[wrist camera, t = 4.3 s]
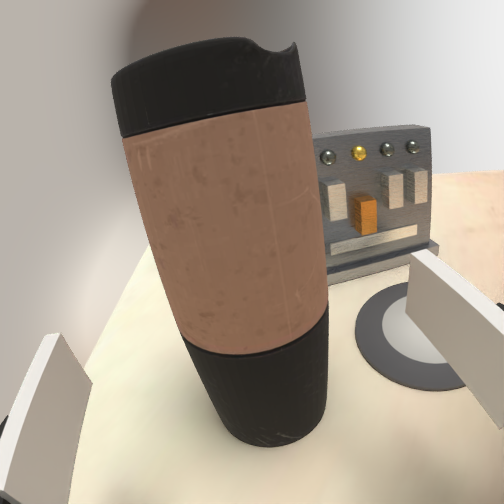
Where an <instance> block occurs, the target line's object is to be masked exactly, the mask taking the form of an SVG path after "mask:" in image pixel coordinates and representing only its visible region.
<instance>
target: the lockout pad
mask: <svg viewBox="0 0 504 504" xmlns="http://www.w3.org/2000/svg"><path fill="white" fill-rule="evenodd" d="M407 291H408V282H405V283H400V284H396V285H393V286H390V287H388V288H386V289H383V290H381V291H380V292H378V293H376V294H375V295H373V296H372V297H371V298H370V299H369V300H368V301H367V302H366V303H365V304H364V305H363V307H362V308H361V309H360V312H359V314H358V316H357V320H356V327H355V334H356V341H357V344H358V347H359V349H360V351H361V353H362V355H363V356H364V358H365V359H366V360H367V362H368V363H369V364H370V365H371V366H372V367H373V368H374V369H375V370H377V371H378V372H379V373H381V374H382V375H383V376H385V377H387V378H388V379H390V380H392V381H394V382H396V383H399V384H401V385H404V386H407V387H410V388H414V389H420V390H427V391H446V390H452V389H457V388H461V387H464V386H466V385H465V383H464V382H463V381H462V380H461V378H460V377H459V376H458V375H457V373H456V372H455V371H454V370H453V368H452V367H451V366H450V365H449V363H448V362H447V361H446V360H445V359H444V357H443V356H442V355H441V354H440V353H439V351H438V350H437V349H436V348H435V347H434V345H433V344H432V343H431V342H430V341H429V339H428V338H427V337H426V336H425V335H424V334H423V332H422V331H421V330H420V329H419V328H418V327H417V326H416V324H415V323H414V322H413V321H412V320H411V319H410V318H409V316H408V315H407V314H406V313H405V308H406V300H407Z"/></svg>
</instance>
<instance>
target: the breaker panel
mask: <svg viewBox="0 0 504 504" xmlns="http://www.w3.org/2000/svg"><path fill="white" fill-rule="evenodd" d="M312 140H313V147H314V154H315V161H316V169H317V177H318V186H319V194H320V203H321V213H322V222H323V233H324V244H325V256H326V268H327V282H328V286H329V285H333V284H336V283H340V282H344V281H348V280H352V279H355V278H359V277H363V276H366V275H370V274H374V273H377V272H381V271H385V270H388V269H392V268H395V267H399V266H402V265H406V264H409V263H410V255H411V253H413V252H417V251H420V250H424V249H427V250H429V251H430V252H431V253H433V254H434V255H435V256H436V255H438V252H439V245H438V244H437V243H435V242H434V241H432V240H431V239H430V223H431V198H432V157H431V132H430V128H429V127H424V126H419V125H399V126H385V127H373V128H362V129H353V130H343V131H334V132H327V133H319V134H312Z"/></svg>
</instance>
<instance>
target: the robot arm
mask: <svg viewBox="0 0 504 504" xmlns="http://www.w3.org/2000/svg"><path fill="white" fill-rule="evenodd" d="M405 313H406V314H407V315H408V316H409V318H410V319H411V320H412V321H413V322H414V323H415V324H416V326H417V327H418V328H419V329H420V330H421V331H422V332H423V334H424V335H425V336H426V337H427V338H428V339H429V341H430V342H431V343H432V344H433V345H434V347H435V348H436V349H437V350H438V351H439V353H440V354H441V355H442V356H443V357H444V359H445V360H446V361H447V362H448V363H449V365H450V366H451V367H452V368H453V370H454V371H455V372H456V373H457V375H458V376H459V377H460V378H461V380H462V381H463V382H464V383H465V385H466V386H467V387H468V388H469V390H470V391H471V392H472V394H473V395H474V396H475V397H476V399H477V400H478V401H479V403H480V404H481V405H482V407H483V408H484V409H485V411H486V412H487V413H488V415H489V416H490V417H491V419H492V420H493V421H494V423H495V424H496V425H497V427H498V428H499V430H500V429H501V428H503V427H504V305H503V304H501V303H497V304H495V303H494V302H493V301H491V300H490V299H489V298H488V297H487V296H485V295H484V294H483V293H482V292H481V291H480V290H478V289H477V288H476V287H475V286H473V285H472V284H471V283H470V282H469V281H467V280H466V279H465V278H464V277H462V276H461V275H460V274H459V273H457V272H456V271H455V270H453V269H452V268H451V267H450V266H448V265H447V264H446V263H444V262H443V261H442V260H441V259H439V258H438V257H437V256H435V255H434V254H433V253H431V252H430V251H429V250H427V249H424V250H420V251H417V252H413V253H411V255H410V269H409V280H408V291H407V300H406V308H405ZM92 384H93V383H92V382H91V380H90V379H89V377H88V376H87V374H86V373H85V371H84V370H83V368H82V367H81V365H80V364H79V362H78V360H77V359H76V357H75V356H74V354H73V352H72V351H71V349H70V347H69V346H68V344H67V342H66V341H65V339H64V337H63V335H62V334H61V333H54V334H48V335H45V337H44V339H43V341H42V343H41V345H40V347H39V349H38V351H37V353H36V355H35V357H34V359H33V361H32V363H31V365H30V368H29V370H28V372H27V374H26V376H25V379H24V381H23V383H22V385H21V388H20V390H19V392H18V395H17V397H16V399H15V402H14V404H13V407H12V409H11V412H10V414H9V416H8V415H7V417H6V418H5V419H4V421H3V422H2V423H1V425H0V504H68V501H69V494H70V488H71V481H72V475H73V469H74V464H75V458H76V453H77V448H78V443H79V438H80V433H81V429H82V424H83V420H84V416H85V411H86V407H87V403H88V399H89V395H90V391H91V387H92Z"/></svg>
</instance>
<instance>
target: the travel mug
mask: <svg viewBox="0 0 504 504" xmlns="http://www.w3.org/2000/svg"><path fill="white" fill-rule="evenodd" d="M111 87H112V94H113V99H114V104H115V109H116V114H117V119H118V124H119V128H120V133H121V136H122V137H123V139H122V142H123V146H124V150H125V154H126V159H127V163H128V167H129V171H130V175H131V179H132V183H133V187H134V190H135V194H136V198H137V201H138V205H139V209H140V212H141V216H142V219H143V223H144V226H145V230H146V233H147V236H148V240H149V243H150V246H151V250H152V253H153V256H154V259H155V262H156V265H157V269H158V272H159V275H160V278H161V281H162V284H163V287H164V290H165V293H166V295H167V298H168V301H169V304H170V307H171V310H172V312H173V315H174V318H175V321H176V324H177V326H178V329H179V331H180V334H181V336H182V338H183V341H184V343H185V345H186V347H187V350H188V352H189V354H190V356H191V359H192V361H193V363H194V365H195V367H196V369H197V372H198V374H199V376H200V378H201V380H202V382H203V384H204V386H205V388H206V390H207V393H208V395H209V397H210V399H211V401H212V403H213V405H214V407H215V409H216V411H217V413H218V414H219V416H220V418H221V420H222V422H223V423H224V425H225V426H226V428H227V429H228V430H229V431H230V432H231V434H233V435H234V436H235V437H237V438H238V439H240V440H242V441H243V442H246V443H248V444H251V445H255V446H262V447H275V446H281V445H286V444H289V443H292V442H295V441H297V440H299V439H301V438H302V437H304V436H305V435H307V434H308V433H309V432H310V431H312V430H313V429H314V427H315V426H316V425H317V424H318V422H319V421H320V419H321V418H322V415H323V413H324V410H325V406H326V399H327V381H328V336H329V302H328V282H327V268H326V256H325V244H324V233H323V222H322V213H321V203H320V194H319V186H318V177H317V169H316V161H315V154H314V147H313V140H312V133H311V126H310V120H309V113H308V107H307V102H306V101H305V99H306V95H305V89H304V83H303V78H302V72H301V66H300V61H299V55H298V50H297V46H296V43H295V42H293V43H292V45H291V47H289V48H287V49H285V50H283V51H280V52H272V51H268V50H264V49H263V48H261V47H259V46H258V45H257V44H256V43H255V42H254V41H252V40H251V39H248V38H245V37H223V38H215V39H209V40H203V41H198V42H193V43H189V44H185V45H181V46H177V47H174V48H170V49H167V50H163V51H161V52H158V53H155V54H152V55H149V56H147V57H145V58H142V59H140V60H138V61H135V62H133V63H131V64H129V65H128V66H126V67H124V68H122V69H121V70H120V71H118V72H117V73H116V74H115V75H114V76H113V78H112V79H111Z"/></svg>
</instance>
